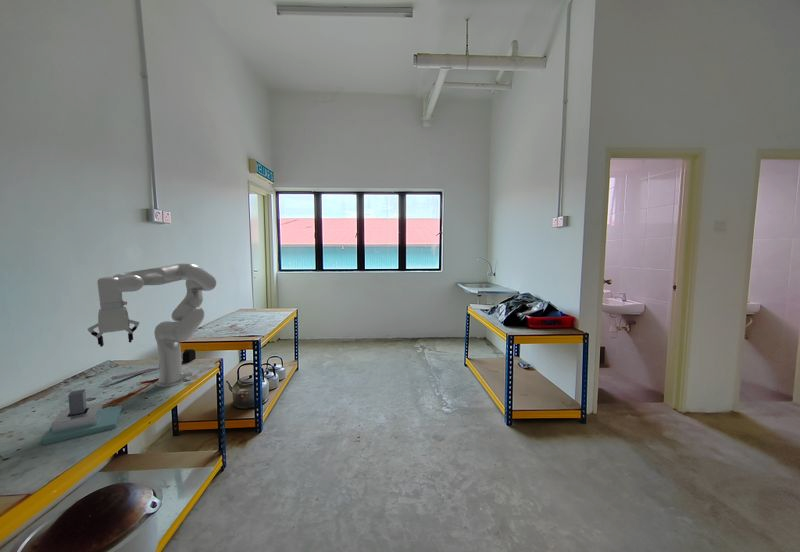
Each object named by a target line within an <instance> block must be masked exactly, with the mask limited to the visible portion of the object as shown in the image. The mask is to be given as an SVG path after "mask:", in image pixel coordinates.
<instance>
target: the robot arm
mask: <svg viewBox="0 0 800 552" xmlns="http://www.w3.org/2000/svg"><path fill="white" fill-rule="evenodd" d="M179 281H185V288H186V295H185V296H184V297H183V299H182V300H181V302H180V303H179V304H178V305H177V306H176V307H175V308H174V310H173V311H172V313H171V319H172V320H173V321H170V320H168V321H167V320H165V321H162V322H160V323H158V324H157V325H156V327H155V329H154V332H153V333H154V339H155V341H156V346H157V359H158V360H157V361H158V367H159V369H158V371H159V380H158V381H156V383H155V385H156V387H159V388H168V387H169V388H170V387H174V386H178V385H180V384H182V383H184V382H185V381H186V380H187V377H193V371H192V372H191V371H188V372H187V371H186V372H184V370H183V365H182V353H181V352H182V350H181V349H182V348H181V347H182V346H181V344H180V343H183V342H186V341H187V340H189V339H190V338H191V337H192V335H193V334H194V333H195V332H196V330H197V329H198V328H199V326H200V325H201V324H202V322H203V320H204V319H205V318H204V317H205V312H204V311H205V310H204V309H203V308H202V307H200V306H201V305H202V303H203V300H204V298H203V292H209V291H213V290H214V289H215V287H216V286H217V279H216V277H214V276H213V275H212V274H211V273H209V272H208V271H206V270H205V269H204V268H202V267H200V266H199V265H197V264H195V263H176V264H170V265H164V266H160V267H154V268H148V269H147V268H146V269H139V270H133V271H128V272H127V271H126V272H122V273H117V274H115V275H113V276H105V277H100V278H98V279H97V281H96V282H97V289H98V297H99V306H100V309H98V312H97V313H98V314H97V315H98V316H97V323H95V324H94V325H92V326H89V327H88V328H87V331H88V333H90V334H91V336H93V337H95V338H96V339H97V344H98V346H99V347H100V348H101V347H102V348H103V346H104V345H105V344H104V336H103V334H104V333H116V332H121V331H125V332H127V333H128V334H127V337H128V343H132V341H134V336H133V335H134V334H133V333H134V332H135V331H136V330H137V329H138V327H139V325H140V322H139V321H137V320H133V319H130V318H129V313H128V309H127V307H126V306H127V305H128V301H124V299H123V294H122V293H126V292H127V293H128V292H131V293H133V292H138V291H139V290H141V289H142V288H143V287H144V286H160V285H161V286H162V285H166V284H169V283H175V282H179ZM202 291H203V292H202ZM125 305H126V306H125ZM131 324H132V325H133V327H130V325H131ZM96 328H98V331H99V332H97V331H95V330H94V329H96Z"/></svg>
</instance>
